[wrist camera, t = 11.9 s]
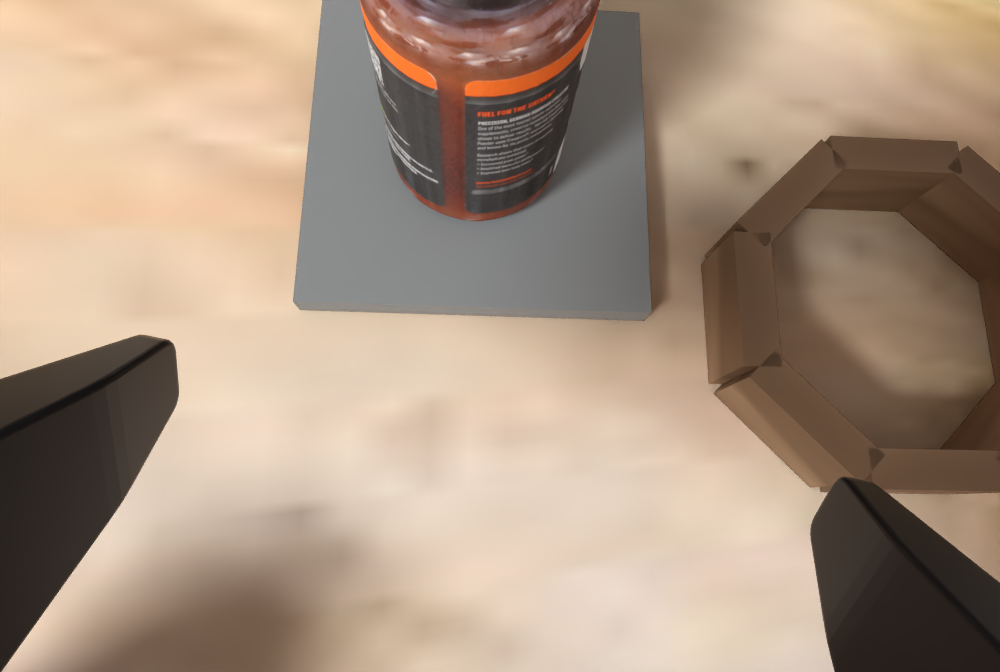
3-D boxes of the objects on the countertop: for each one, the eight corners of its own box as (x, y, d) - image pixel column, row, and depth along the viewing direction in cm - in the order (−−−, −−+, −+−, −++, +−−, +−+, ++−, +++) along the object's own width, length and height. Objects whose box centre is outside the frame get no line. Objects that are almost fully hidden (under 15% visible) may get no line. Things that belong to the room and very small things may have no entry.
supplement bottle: (591, 142, 24) (697, -157, 13) (487, 261, 23) (511, 36, 12) (463, 48, 25) (465, -309, 14) (355, 158, 24) (265, -142, 13)
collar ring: (1048, 496, 23) (1132, 494, 20) (715, 489, 23) (753, 486, 20) (992, 186, 26) (1058, 146, 23) (695, 174, 25) (726, 131, 23)
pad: (643, 320, 24) (651, 312, 23) (299, 310, 23) (292, 301, 22) (632, 30, 27) (638, 12, 26) (327, 14, 26) (322, -5, 25)
